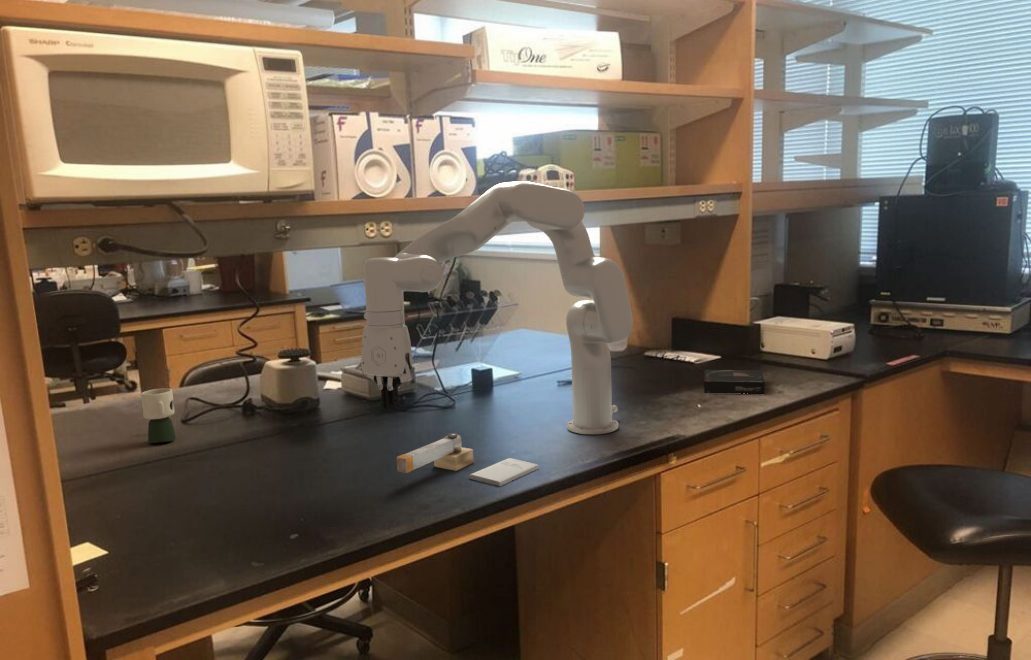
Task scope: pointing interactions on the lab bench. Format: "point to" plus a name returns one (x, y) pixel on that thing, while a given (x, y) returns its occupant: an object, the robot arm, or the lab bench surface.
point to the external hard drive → (503, 471)
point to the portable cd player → (734, 381)
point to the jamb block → (456, 460)
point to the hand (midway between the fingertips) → (390, 407)
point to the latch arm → (429, 453)
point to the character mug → (159, 414)
